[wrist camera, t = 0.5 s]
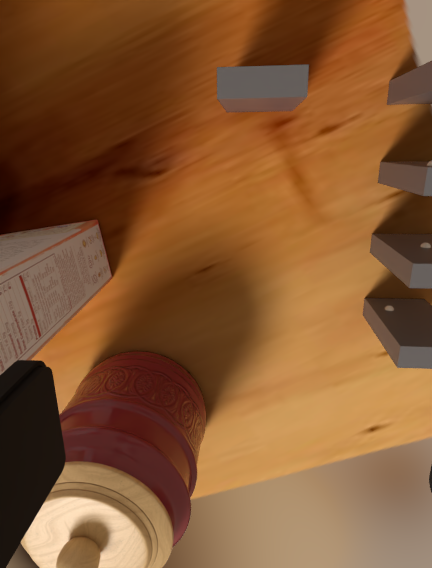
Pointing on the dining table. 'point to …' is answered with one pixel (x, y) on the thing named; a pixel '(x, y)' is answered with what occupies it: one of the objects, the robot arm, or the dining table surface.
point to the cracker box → (46, 284)
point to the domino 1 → (262, 87)
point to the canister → (123, 467)
